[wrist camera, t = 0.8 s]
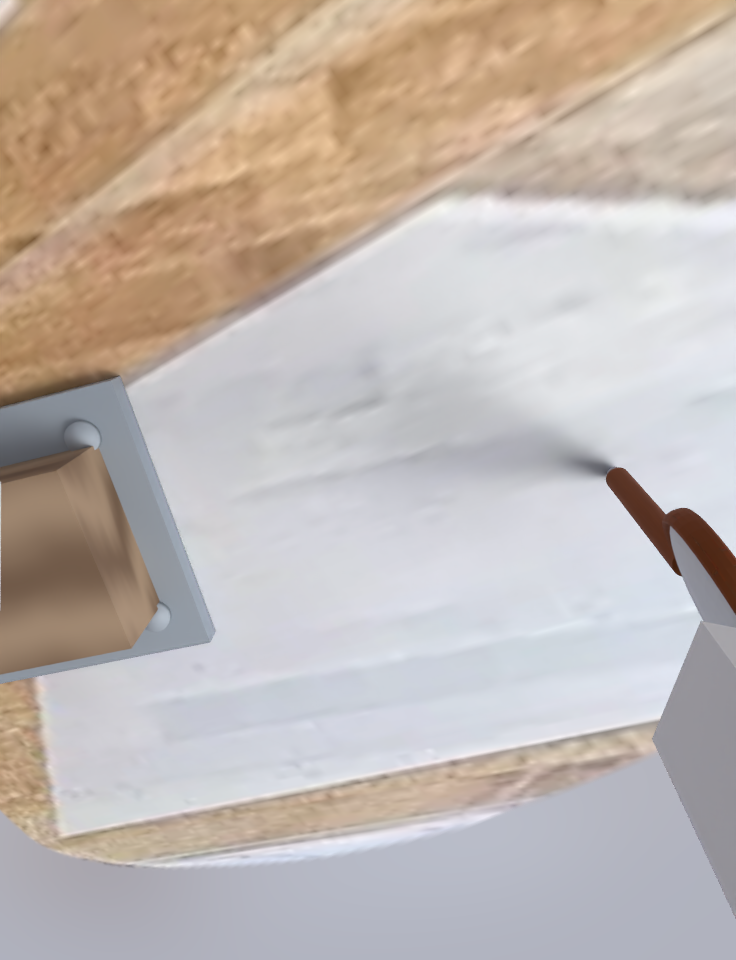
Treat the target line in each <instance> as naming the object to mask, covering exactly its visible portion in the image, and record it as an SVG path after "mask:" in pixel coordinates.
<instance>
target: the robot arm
mask: <svg viewBox="0 0 736 960" xmlns="http://www.w3.org/2000/svg"><path fill="white" fill-rule="evenodd" d="M0 584H1V481H0ZM652 740H653V742H654V744H655V746H656V748H657V750H658V753H659V755H660V757H661V759H662V761H663V763H664V766H665V768H666V770H667V772H668V774H669V776H670V778H671V780H672V783H673V785H674V787H675V789H676V791H677V793H678V795H679V798H680V800H681V802H682V804H683V806H684V808H685V811H686V813H687V815H688V817H689V819H690V821H691V823H692V826H693V828H694V830H695V832H696V834H697V836H698V839H699V840H700V843H701V845H702V847H703V849H704V851H705V854H706V856H707V858H708V860H709V862H710V864H711V866H712V869H713V871H714V873H715V875H716V877H717V879H718V881H719V884H720V885H721V888H722V890H723V892H724V894H725V897H726V899H727V901H728V903H729V905H730V907H731V909H732V911H733V914H734V916H735V918H736V628H734V627H729V626H724V625H719V624H714V623H709V622H704V621H701V622H700V625H699V627H698V629H697V632H696V634H695V637H694V639H693V641H692V644H691V646H690V649H689V651H688V654H687V656H686V658H685V661H684V663H683V666H682V668H681V670H680V673H679V675H678V678H677V680H676V683H675V685H674V687H673V690H672V692H671V695H670V697H669V699H668V702H667V704H666V707H665V709H664V712H663V714H662V716H661V719H660V721H659V724H658V726H657V729H656V731H655V733H654V736H653V738H652Z"/></svg>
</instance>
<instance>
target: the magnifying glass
mask: <svg viewBox="0 0 736 960" xmlns="http://www.w3.org/2000/svg"><path fill="white" fill-rule="evenodd" d="M606 482H607V484H608V486H609V487H610V488H611V490H612V491H613V492H614V494H615V495H616V496H617V498H618V499H619V500H620V501H621V503H622V504H623V505H624V507H625V508H626V509H627V511H628V512H629V513H630V515H631V516H632V517H633V518H634V520H635V521H636V522H637V524H638V525H639V526H640V528H641V529H642V530H643V531H644V533H645V534H646V535H647V537H648V538H649V539H650V541H651V542H652V543H653V544H654V546H655V547H656V548H657V550H658V551H659V552H660V554H661V555H662V556H663V558H664V559H665V560H666V561H667V563H668V564H669V565H670V567H671V568H672V569H673V571H674V572H675V573H676V574H677V575H679V576H682V577H683V580H684V582H685V584H686V587H687V589H688V591H689V593H690V595H691V597H692V599H693V601H694V603H695V605H696V607H697V609H698V611H699V613H700V615H701V617H702V619H703V621H704V622H709V623H714V624H719V625H724V626H729V627H734V628H736V558H735V556H734V555H733V554H732V552H731V551H730V550H729V548H728V547H727V546H726V545H725V543H724V542H723V541H722V540H721V538H720V537H719V536H718V535H717V534H716V533H715V531H714V530H713V529H712V528H711V527H710V526H709V525H708V524H707V523H706V522H705V521H704V520H703V519H702V518H701V517H700V516H699V515H698V514H696V513H695V512H693V511H692V510H690V509H688V508H679V509H676V510H673V511H671V512H669V513H668V514H665V513H664V512H663V511H662V510H661V509H660V507H659V506H658V505H657V504H656V503H655V502H654V501H653V500H652V498H651V497H650V496H649V495H648V494H647V493H646V492H645V491H644V489H643V488H642V487H641V486H640V485H639V484H638V483H637V482H636V481H635V479H634V478H633V477H632V476H631V475H630V474H629V473H628V472H627V471H626V470H625V469H623V468H617V467H612V468H610V469H609V470H608V471H607V476H606Z"/></svg>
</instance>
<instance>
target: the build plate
mask: <svg viewBox="0 0 736 960" xmlns="http://www.w3.org/2000/svg"><path fill="white" fill-rule="evenodd" d="M92 446H93V447H94V450H96V449H98V448H99V449H100V452H101V454H102V457H103V460H104V462H105V465H106V467H107V470H108V472H109V475H110V477H111V480H112V482H113V485H114V487H115V490H116V492H117V495H118V497H119V500H120V502H121V505H122V507H123V510H124V512H125V515H126V517H127V520H128V523H129V525H130V528H131V530H132V533H133V535H134V538H135V540H136V543H137V545H138V548H139V550H140V553H141V555H142V558H143V560H144V563H145V565H146V568H147V570H148V573H149V575H150V578H151V580H152V583H153V586H154V588H155V591H156V593H157V596H158V598H159V601H160V602H159V603H158V604H157V607H158V610H157V612H156V613H155V615H154V616H153V618H152V619H151V621H150V622H149V624H148V625H147V627H146V628H145V630H144V631H143V633H142V634H141V635H140V637H139V638H138V640H137V641H136V643H135V644H134V646H133V647H132V649H127V650H122V651H117V652H112V653H107V654H102V655H97V656H92V657H87V658H82V659H77V660H72V661H67V662H62V663H56V664H51V665H46V666H41V667H36V668H31V669H26V670H21V671H16V672H11V673H6V674H1V675H0V684H1V683H6V682H11V681H16V680H22V679H27V678H32V677H37V676H42V675H47V674H52V673H57V672H62V671H67V670H72V669H77V668H82V667H88V666H93V665H98V664H103V663H108V662H113V661H118V660H123V659H128V658H133V657H138V656H143V655H148V654H154V653H159V652H164V651H169V650H174V649H179V648H184V647H189V646H194V645H199V644H204V643H209V642H211V640H212V638H213V636H214V634H215V632H216V631H215V629H214V626H213V623H212V620H211V618H210V615H209V612H208V610H207V607H206V604H205V602H204V599H203V596H202V594H201V591H200V588H199V586H198V583H197V580H196V578H195V575H194V572H193V570H192V567H191V564H190V562H189V559H188V556H187V554H186V551H185V548H184V546H183V543H182V540H181V538H180V535H179V532H178V530H177V527H176V524H175V522H174V519H173V516H172V514H171V511H170V508H169V506H168V503H167V500H166V497H165V495H164V492H163V489H162V487H161V484H160V481H159V479H158V476H157V473H156V471H155V468H154V465H153V463H152V460H151V457H150V455H149V452H148V449H147V447H146V444H145V441H144V439H143V436H142V433H141V431H140V428H139V425H138V423H137V420H136V417H135V415H134V412H133V409H132V407H131V404H130V401H129V399H128V396H127V393H126V391H125V388H124V385H123V383H122V380H121V377H120V376H118V377H114V378H111V379H107V380H103V381H99V382H95V383H91V384H87V385H84V386H80V387H76V388H72V389H68V390H64V391H60V392H56V393H53V394H49V395H45V396H41V397H37V398H33V399H29V400H26V401H22V402H18V403H14V404H10V405H6V406H2V407H0V467H3V466H7V465H11V464H15V463H19V462H23V461H28V460H32V459H36V458H40V457H44V456H48V455H52V454H56V453H60V452H64V451H68V450H71V451H75V450H79V449H83V448H87V447H92Z"/></svg>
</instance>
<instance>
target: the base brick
mask: <svg viewBox="0 0 736 960" xmlns="http://www.w3.org/2000/svg"><path fill="white" fill-rule="evenodd" d="M0 481H1V584H0V675H1V674H6V673H11V672H16V671H21V670H26V669H31V668H36V667H41V666H46V665H51V664H56V663H62V662H67V661H72V660H77V659H82V658H87V657H92V656H97V655H102V654H107V653H112V652H117V651H122V650H127V649H132V647H133V646H134V644H135V643H136V641H137V640H138V638H139V637H140V635H141V634H142V633H143V631H144V630H145V628H146V627H147V625H148V624H149V622H150V621H151V619H152V618H153V616H154V615H155V613H156V612H157V610H158V607H157V604H158V603H159V602H160V601H159V598H158V596H157V593H156V591H155V588H154V586H153V583H152V580H151V578H150V575H149V573H148V570H147V568H146V565H145V563H144V560H143V558H142V555H141V553H140V550H139V548H138V545H137V543H136V540H135V538H134V535H133V533H132V530H131V528H130V525H129V523H128V520H127V517H126V515H125V512H124V510H123V507H122V505H121V502H120V500H119V497H118V495H117V492H116V490H115V487H114V485H113V482H112V480H111V477H110V475H109V472H108V470H107V467H106V465H105V462H104V460H103V457H102V454H101V452H100V449H99V448H98V449H96V450H94V447H93V446H92V447H87V448H83V449H79V450H75V451H71V450H68V451H64V452H60V453H56V454H52V455H48V456H44V457H40V458H36V459H32V460H28V461H23V462H19V463H15V464H11V465H7V466H3V467H0Z"/></svg>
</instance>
